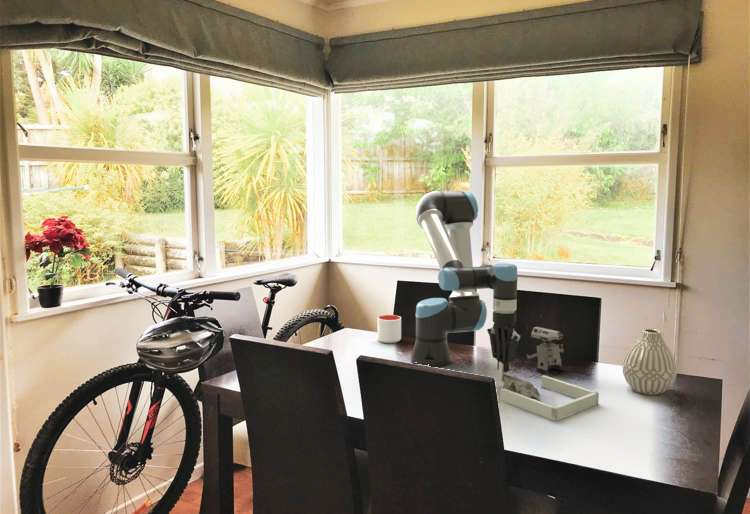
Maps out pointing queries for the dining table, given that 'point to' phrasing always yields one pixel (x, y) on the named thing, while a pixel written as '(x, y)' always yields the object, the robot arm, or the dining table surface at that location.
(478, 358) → the dining table surface
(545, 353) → the figurine
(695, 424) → the dining table surface
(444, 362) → the robot arm
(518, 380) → the mineral rock
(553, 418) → the corral
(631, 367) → the vase
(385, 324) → the cup
